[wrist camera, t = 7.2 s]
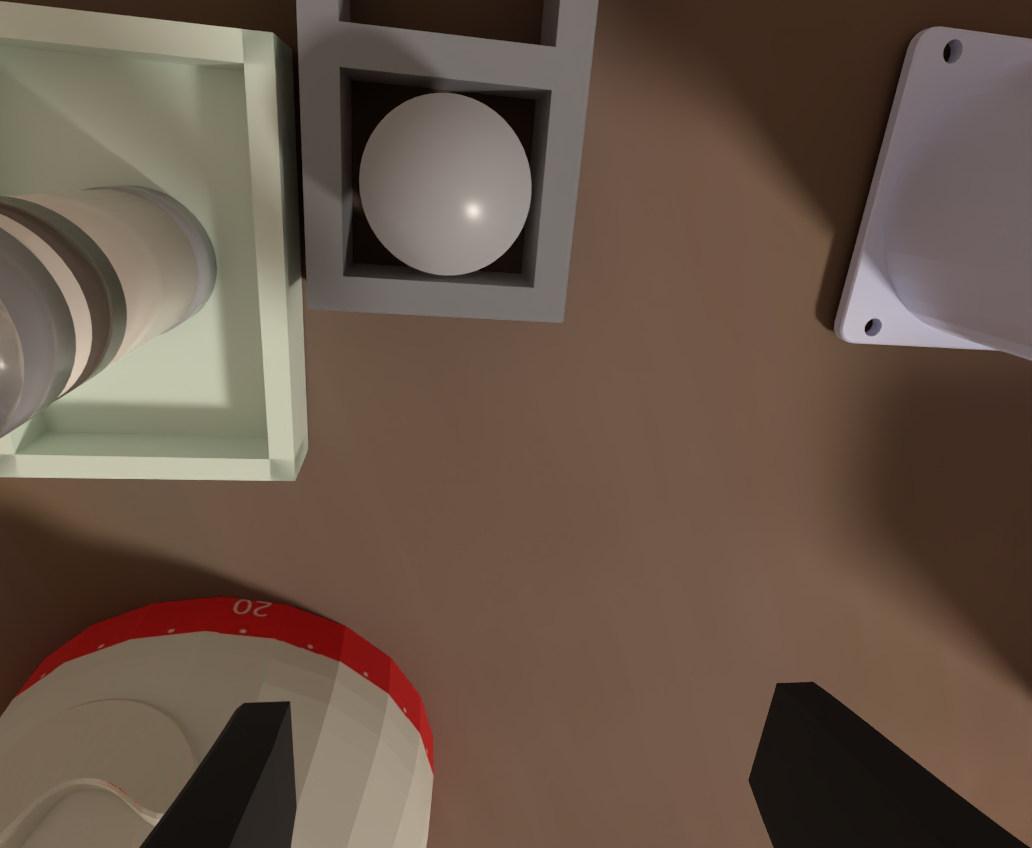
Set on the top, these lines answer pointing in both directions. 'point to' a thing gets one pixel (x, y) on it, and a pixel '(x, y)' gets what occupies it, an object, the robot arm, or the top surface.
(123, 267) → the cylinder
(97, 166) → the parts tray
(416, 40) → the grey compartment rack
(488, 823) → the top surface
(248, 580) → the top surface
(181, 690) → the kitchen timer
